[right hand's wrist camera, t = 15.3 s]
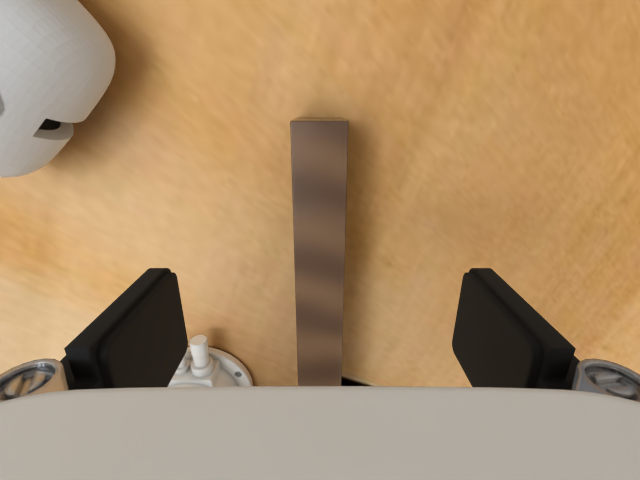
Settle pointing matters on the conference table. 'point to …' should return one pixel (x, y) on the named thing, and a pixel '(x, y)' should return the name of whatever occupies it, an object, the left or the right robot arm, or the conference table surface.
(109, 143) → the conference table surface
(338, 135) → the bar
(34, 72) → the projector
